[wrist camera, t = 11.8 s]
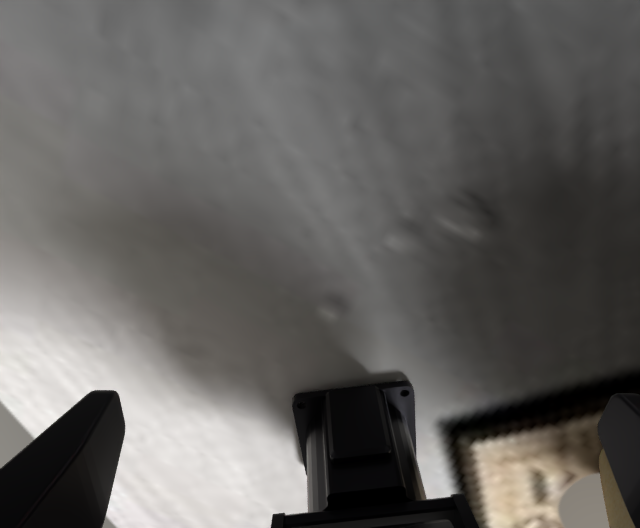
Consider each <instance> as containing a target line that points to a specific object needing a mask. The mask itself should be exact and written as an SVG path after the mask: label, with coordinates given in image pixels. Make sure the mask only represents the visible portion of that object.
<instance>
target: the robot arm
mask: <svg viewBox="0 0 640 528" xmlns="http://www.w3.org/2000/svg"><path fill="white" fill-rule="evenodd" d="M402 390H406V391H402ZM299 402H304V403H299ZM292 407H293V412H294V417H295V422H296V427H297V432H298V437H299V442H300V447H301V451H302V456H303V461H304V466H305V471H306V475H307V492H308V513H299V514H290V515H285V513H279V514H273V517H272V524H271V528H479V526H478V524H477V522H476V520H475V518H474V515H473V513H472V511H471V509H470V507H469V505H468V503H467V500H466V498H465V496H464V494H463V493H462V494H452V495H451V497H445V498H436V499H426V495H425V491H424V487H423V483H422V479H421V475H420V471H419V467H418V464H417V460H416V431H415V401H414V390H413V386H412V384H411V383H410V382H408V381H399V382H390V383H382V384H373V385H365V386H357V387H348V388H340V389H331V390H323V391H315V392H306V393H299V394H296V395H295V396H294V397H293V400H292ZM124 435H125V421H124V416H123V411H122V407H121V402H120V398H119V395H118V393H117V392H116V391H113V390H95V391H92V392H90V393H88V394H87V395H86V396H85V397H84V398H82V399H81V400H80V401H79V402H78V403H77V404H75V405H74V406H73V407H72V408H71V409H70V410H68V411H67V412H66V413H65V414H64V415H63V416H61V417H60V418H59V419H58V420H57V421H56V422H54V423H53V424H52V425H51V426H50V427H48V428H47V429H46V430H45V431H44V432H43V433H41V434H40V435H39V436H38V437H37V438H36V439H34V440H33V441H32V442H31V443H30V444H29V445H27V446H26V447H25V448H24V449H23V450H22V451H20V452H19V453H18V454H17V455H16V456H15V457H13V458H12V459H11V460H10V461H9V462H7V463H6V464H5V465H4V466H3V467H2V468H0V528H102V527H103V523H104V520H105V516H106V512H107V508H108V504H109V500H110V495H111V491H112V487H113V482H114V478H115V474H116V470H117V465H118V461H119V457H120V453H121V448H122V444H123V440H124ZM598 436H599V439H600V441H601V444H602V447H603V449H604V452H605V454H606V457H607V459H608V462H609V465H610V467H611V470H612V472H613V475H614V478H615V480H616V483H617V485H618V488H619V490H620V493H621V496H622V498H623V501H624V503H625V506H626V508H627V510H628V513H629V515H630V517H631V520H632V522H633V524H634V526H635V528H640V395H639V394H635V393H617V394H614V395H613V396H611V398H610V400H609V402H608V404H607V406H606V408H605V410H604V412H603V414H602V416H601V418H600V420H599V422H598Z"/></svg>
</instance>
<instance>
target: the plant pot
mask: <svg viewBox="0 0 640 528" xmlns="http://www.w3.org/2000/svg"><path fill="white" fill-rule="evenodd" d="M599 470H600V477H601V483H602V489H603V495H604V501H605V506H606V511H607V516H608V521H609V527H610V528H635V526H634V524H633V522H632V520H631V517H630V515H629V513H628V510H627V508H626V506H625V503H624V501H623V498H622V496H621V493H620V490H619V488H618V485H617V483H616V480H615V478H614V475H613V472H612V470H611V467H610V465H609V462H608V459H607V457H606V454H605V452H604V449H603V448H602V451H601V453H600V456H599Z"/></svg>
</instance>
